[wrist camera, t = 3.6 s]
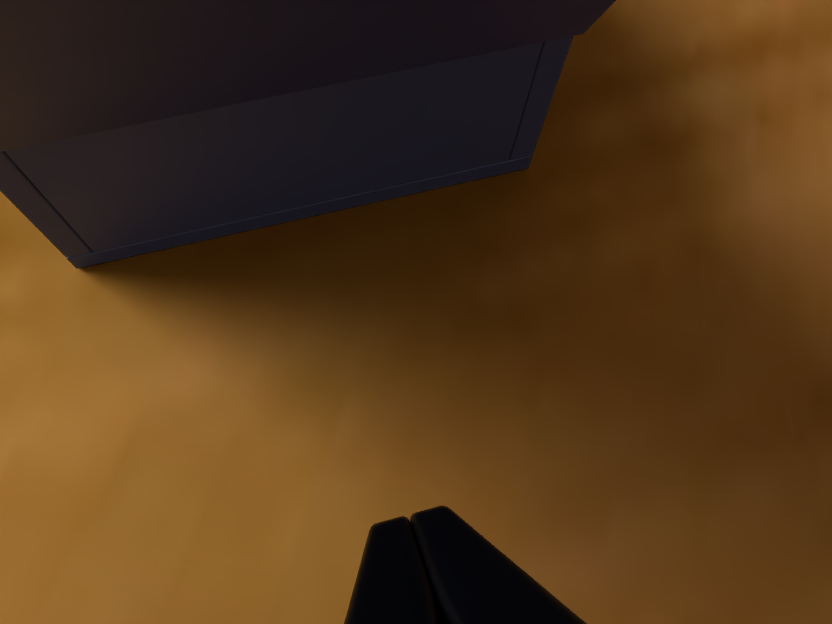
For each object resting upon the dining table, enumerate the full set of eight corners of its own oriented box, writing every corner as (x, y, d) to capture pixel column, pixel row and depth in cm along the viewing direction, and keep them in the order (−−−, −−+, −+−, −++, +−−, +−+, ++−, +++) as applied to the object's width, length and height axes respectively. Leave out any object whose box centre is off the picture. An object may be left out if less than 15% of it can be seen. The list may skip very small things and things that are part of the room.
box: (38, -5, 27) (-71, -187, 21) (441, -78, 29) (458, -267, 22) (76, 269, 24) (-38, 154, 17) (528, 168, 26) (576, 30, 19)
